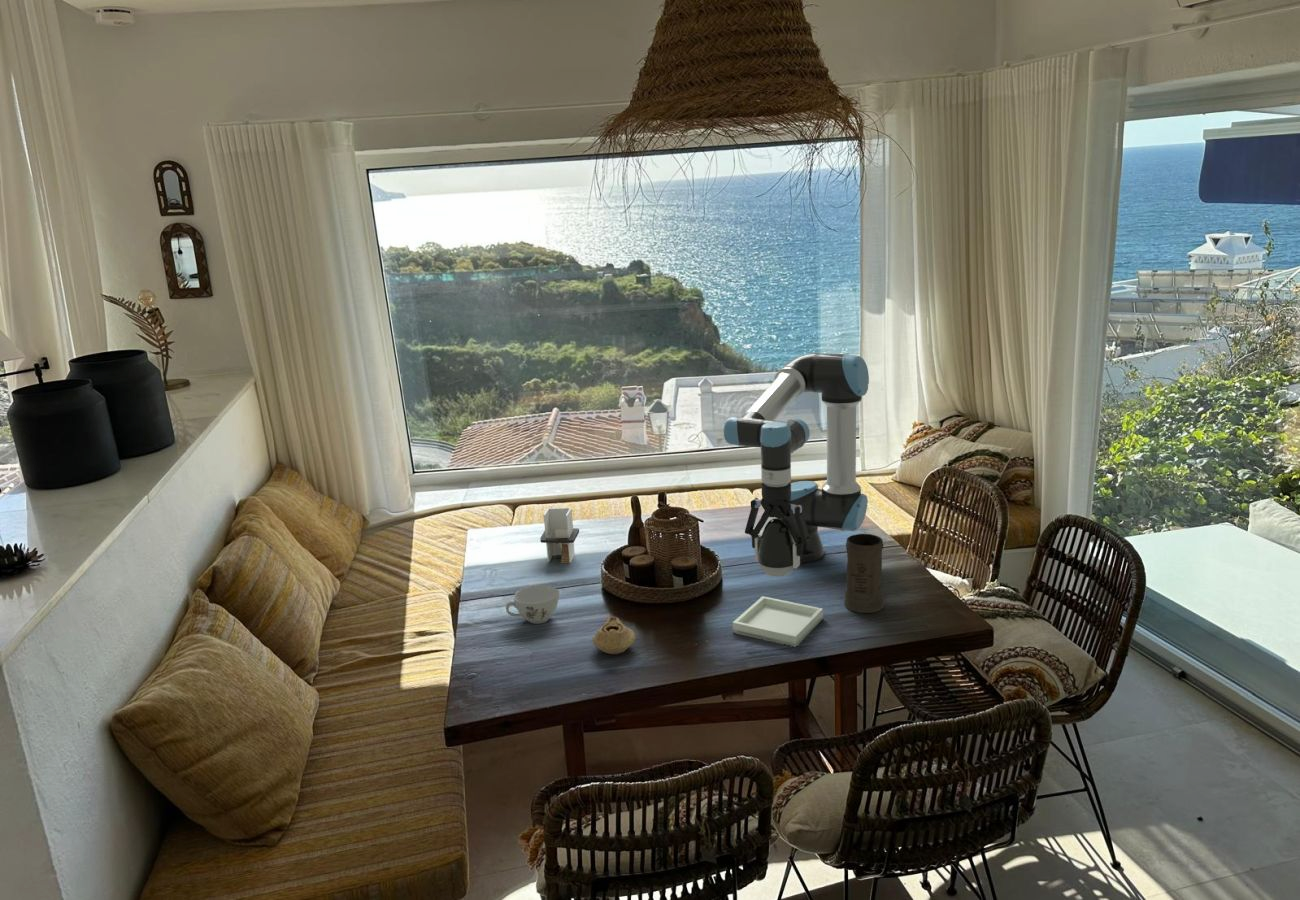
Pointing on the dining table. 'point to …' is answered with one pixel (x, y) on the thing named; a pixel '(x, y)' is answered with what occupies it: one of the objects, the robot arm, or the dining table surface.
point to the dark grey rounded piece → (776, 549)
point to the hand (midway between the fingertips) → (777, 563)
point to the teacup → (535, 603)
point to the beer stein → (864, 573)
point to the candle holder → (559, 533)
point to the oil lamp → (614, 637)
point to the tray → (778, 621)
